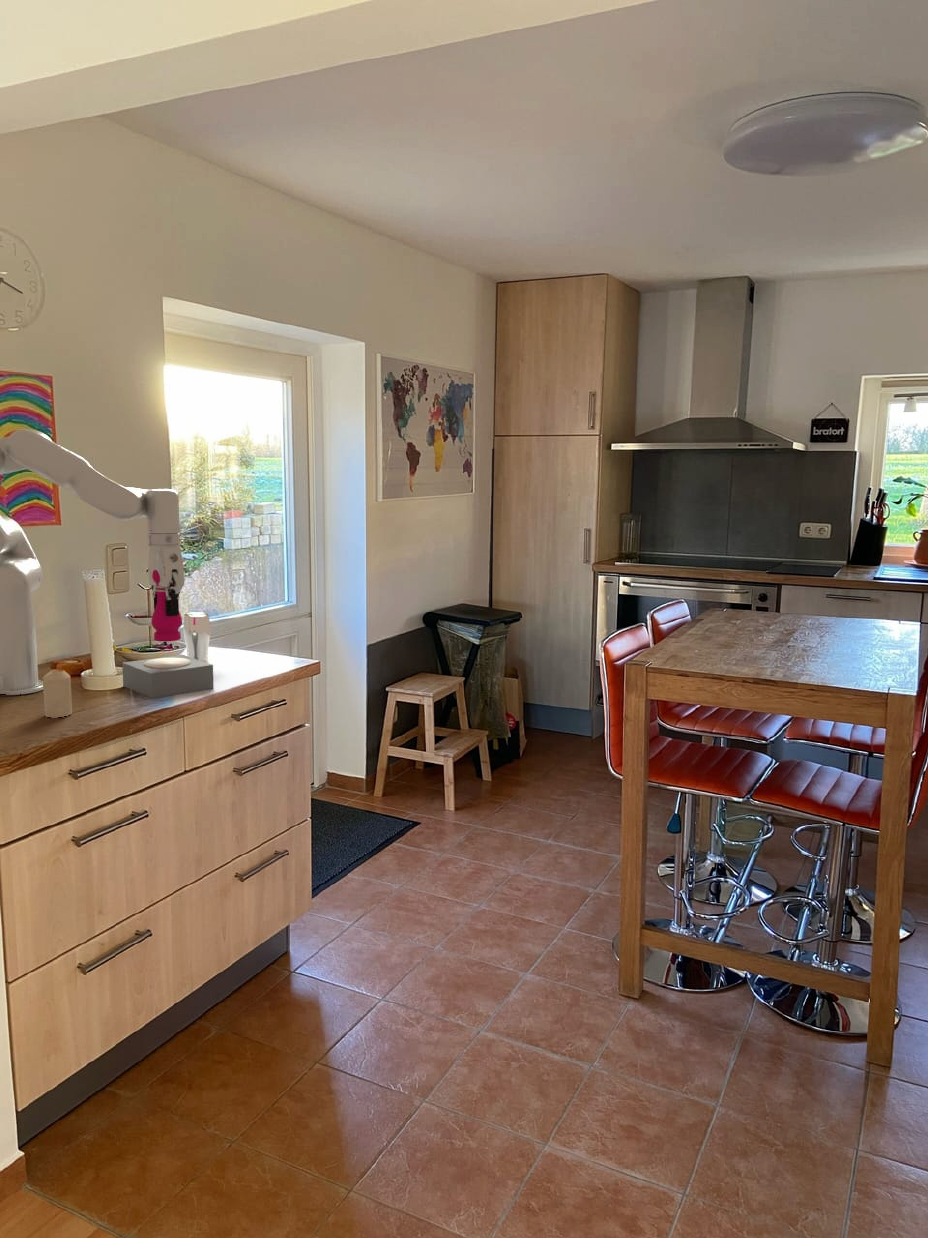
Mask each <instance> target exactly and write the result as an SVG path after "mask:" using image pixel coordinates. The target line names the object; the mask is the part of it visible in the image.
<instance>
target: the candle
mask: <svg viewBox="0 0 928 1238" xmlns="http://www.w3.org/2000/svg"><path fill="white" fill-rule="evenodd" d="M71 680H72V679H71V675H70V674H69V673H68V672H66V671H65V670H64V669H62V670H58V669H56V668H55V669H51V670H49V672H47V673H46V674H44V676H43V677H42V681H43V690H42V691H43V707H44V709H43V710H44V711H43V712H44V716H46V717H45V718H47V717H51V718H50V719H59V718H58V717H63V718H65V717H64V716H67V717H69V716H68V715H70V714H73V702H72V700H73V699H72V685H71V684H72V683H71V682H72V681H71ZM70 716H71V715H70Z"/></svg>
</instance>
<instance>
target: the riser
mask: <svg viewBox="0 0 928 1238" xmlns="http://www.w3.org/2000/svg"><path fill="white" fill-rule="evenodd" d="M121 664H122V665H121V666H122V686H123V687H125V688H127V689H129V690H131V691H134V692H136V693H138V694H141V695H143V696H145V697H148V698H150V699H157V698H164V697H169V696H170V697H171V696H176V695H180V694H181V695H182V694H189V693H194V692H199V691H200V692H201V691H206V690H212V689H214V685H215V684H214V665H213V664H212V663H209V662H208V663H206V662H203V661H200V660H197V659H194V658H191V657H188V656H187V655H185V654H177V655H176V654H175V655H171V656H163V657H155V658H146V659H140V660H139V659H138V660H132V661H123V662H121Z"/></svg>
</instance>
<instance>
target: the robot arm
mask: <svg viewBox="0 0 928 1238" xmlns="http://www.w3.org/2000/svg"><path fill="white" fill-rule="evenodd" d="M24 470H29V471H31V472H33V473H34V474H36V475H38V476H40V477H42V478H44V479H46V480H48V481H50V482H51V483H52V484H55V485H56V486H58V487H61V488H62V489H64V490H65V491H67V492H68V493H69V494H72V495H73V496H75V497H77V498H78V499H79V500H82V501H83V502H85V503H87V504H88V505H90V506H91V507H93V508H95V509H96V510H97V509H98V510H100V511H101V512H103V513H104V514H106V515H108V516H110V517H112V518H114V519H117V520H120V521H131V520H136V519H140V518H146V527H147V528H146V530H147V531H146V536H147V537H146V539H147V547H148V579H149V584H150V586H151V589H152V597H153V611H154V610H155V608H156V605H157V591H155V588H156V587H155V585H156V586H157V584H156V583H155V582H154V580H153V578H152V574H153V571H154V570H157V571H158V573H159V576H160V582H159V584H158V586H161V587H163V588H165V592H166V597H167V600H165V610H166V616H177V615H179V612H180V610H179V609H180V607H179V606H180V604H179V603H180V601H179V600H180V594H181V591H182V589H183V587H184V585H185V570H184V563H183V562H184V561H183V553H182V549H181V534H180V533H181V532H180V531H181V530H180V529H181V528H180V527H181V526H180V499H179V498H180V497H179V493H178V492H177V491H176V490H175V489H169V488H163V489H162V488H157V489H156V488H155V489H154V488H153V489H144V488H143V489H142V488H138V487H137V488H136V487H125V486H123V485H122V484H119V483H118V482H116V481H114V480H112V479H110V478H108V477H106V476H105V475H103V474H102V473H100V472H99V471H97V470H96V469H95V468H93V467H92V465H90V463H89V462H88V461H87V460H86V459H85V458H84V457H82V456H80V454H79V455H78V454H76V453H75V452H73V451H71V450H69V449H67V448H66V447H63V446H62V445H59V444H58V443H56V442H54V441H53V440H52V439H51V437H49V436H48V435H47V434H46V433H44V432H42V431H39V430H35V429H29V428H22V429H17V430H15V431H13V432H12V433H11V434H10V435H9V436H4V437H0V476H1V475H5V474H10V473H14V472H19V471H24ZM43 579H44V573H43V570H42V566H41V564H40V562H39V560H38V558H37V555H36V553H35V552H34V549H33V547H32V546H31V543H30V542H29V540H28V538H27V535H26V533H25V532H24V530H23V527H21V525H20V524H19V523H18V522H17V521H16V520H14V519H12V518H11V517H8V516H5V515H0V694H6V695H5V696H20V694H21V695H26V694H28V695H29V694H32V693H33V694H34V693H37V692H40V691H43V680H40V679H39V670H38V668H39V667H38V666H39V665H38V652H37V649H38V648H37V633H36V632H37V631H36V629H37V628H36V617H35V616H36V615H35V609H34V607H35V606H34V602H33V598H32V597H33V596H32V593H34V592H36V591H37V590H38V589H39V588H40V586H41V585H42V583H43ZM172 584H173V585H174V586H172V587H169V586H170V585H172ZM170 590H172V591H171V593H170Z"/></svg>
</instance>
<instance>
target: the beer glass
mask: <svg viewBox="0 0 928 1238" xmlns="http://www.w3.org/2000/svg"><path fill="white" fill-rule="evenodd" d="M210 623H211V621H210V614H209V613H207V612H190V613H189V612H188V613H184V614H183V629H182V631H183V640H184V643H185V648H186V652H187V655H186V656H188V657H191V658H194V659H197V660H200V661H203V662H206V663H209V659H208V658H209V657H208V655H209V653H208V652H209V646H210V637H211V624H210Z"/></svg>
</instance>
